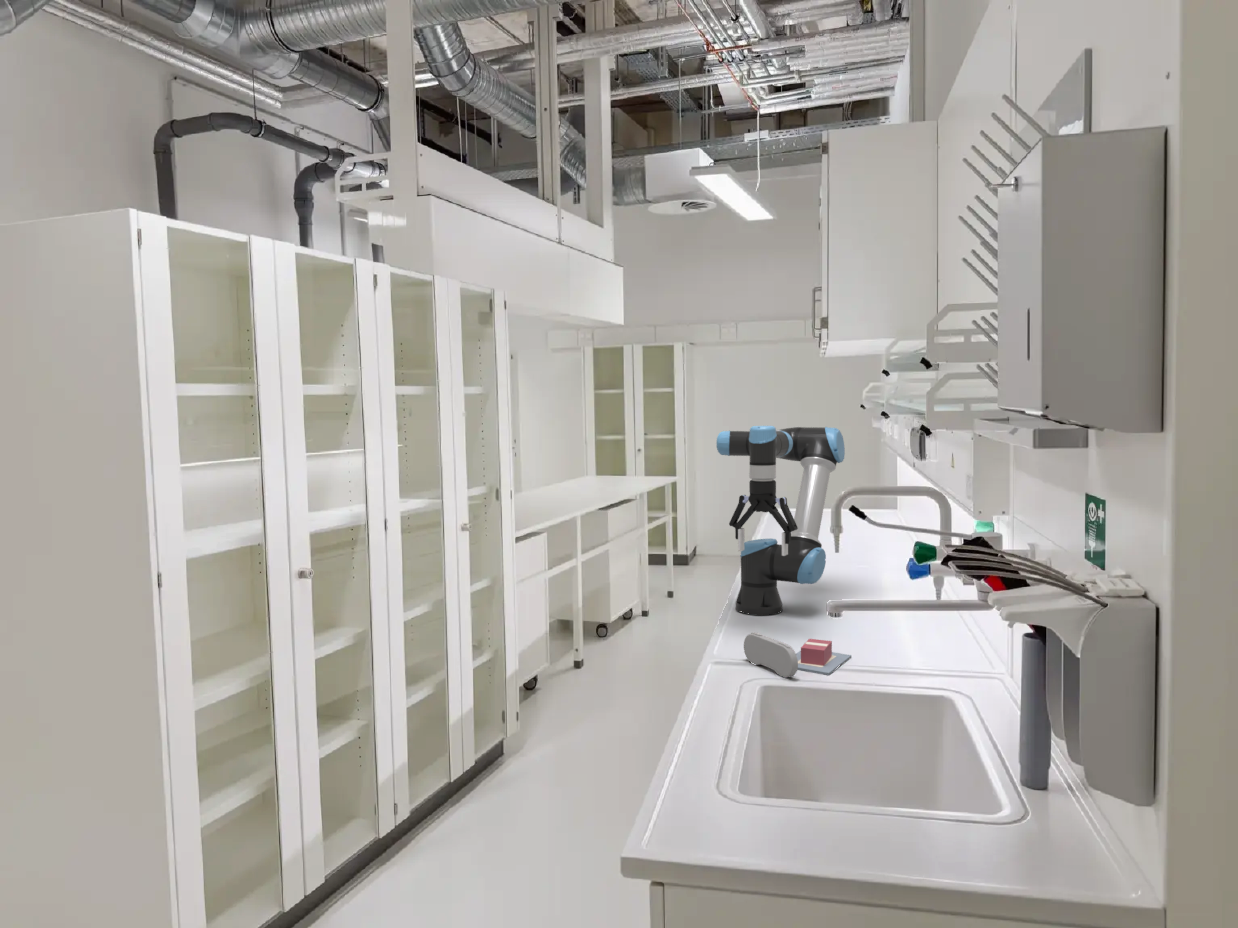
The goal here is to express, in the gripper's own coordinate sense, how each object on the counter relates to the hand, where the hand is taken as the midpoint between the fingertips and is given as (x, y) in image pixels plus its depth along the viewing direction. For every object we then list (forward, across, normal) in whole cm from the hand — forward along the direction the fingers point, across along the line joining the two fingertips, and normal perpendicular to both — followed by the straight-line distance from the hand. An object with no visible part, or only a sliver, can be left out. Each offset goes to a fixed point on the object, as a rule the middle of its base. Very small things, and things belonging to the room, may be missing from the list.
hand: (762, 553), depth 239 cm
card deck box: (+24, -22, +14) cm, 35 cm away
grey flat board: (+25, -22, +14) cm, 36 cm away
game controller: (+25, -14, +26) cm, 39 cm away
